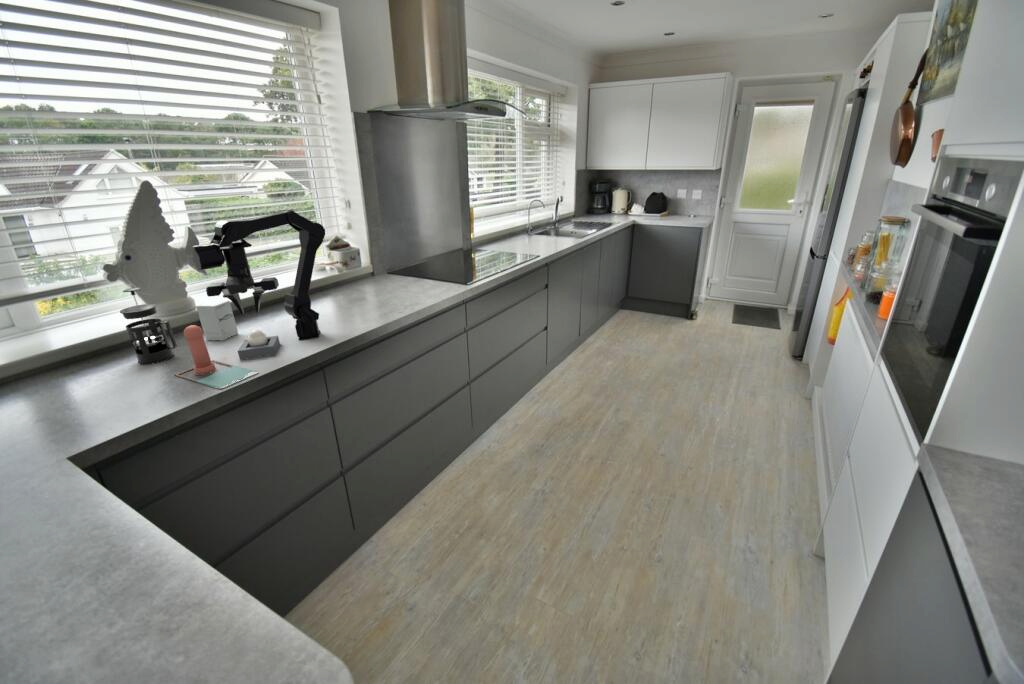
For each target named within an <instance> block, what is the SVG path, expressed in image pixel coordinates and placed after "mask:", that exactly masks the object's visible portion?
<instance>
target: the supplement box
mask: <svg viewBox="0 0 1024 684" xmlns="http://www.w3.org/2000/svg"><path fill="white" fill-rule="evenodd" d="M195 307H196V311H197V314H198V317H199V321H200V324H201V329H202V330H203V335H204V338H205V340H206V341H215V340H220V341H219V342H224V341H225V340H228V339H230V338H231V336H232V337H234V336H236V335H238V334H239V331H238V327H237V323H236V320H235V316H234V312H233V309H232V304H231V300H230V299H228V300H224V299H223V300H222V299H220V300H219V299H217V300H216V299H213V300H209V301H207V302H203V303H201V304H199V305H195Z"/></svg>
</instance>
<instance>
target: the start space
mask: <svg viewBox="0 0 1024 684" xmlns="http://www.w3.org/2000/svg"><path fill="white" fill-rule="evenodd" d="M211 362H216V363H215V364H218V363H219V364H218V365H222V364H223V365H222V366H225V365H227V366H226V367H228V368H230V367H229V366H231V367H232V366H234V365H233V364H229V363H225V362H221V361H218V360H215V359H212V360H211ZM192 369H193V370H194V368H193V367H191V368H188V369H186V370H183V371H180V372H178V373H175V374H174V376H175V375H176V376H175V377H178V376H179V377H178V378H181V377H182V378H181V379H184V378H185V379H184V380H187V379H189V380H188V381H190V380H192V381H191V382H194V381H196V382H195V383H197V381H198V380H199V379H194V378H191V377H188V376H185V375H182V374H181V373H183V374H185V373H188V372H190V371H193V370H192ZM189 370H190V371H189ZM187 371H188V372H187ZM184 372H185V373H184ZM218 372H219V371H218ZM218 372H216V373H218ZM179 374H180V375H179ZM213 374H214V373H211V375H213ZM208 376H209V375H208ZM208 376H206V377H208ZM203 378H204V377H203ZM203 378H201V379H203Z"/></svg>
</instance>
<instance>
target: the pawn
mask: <svg viewBox="0 0 1024 684" xmlns="http://www.w3.org/2000/svg"><path fill="white" fill-rule="evenodd" d="M183 336H184V338H185V339H186V341H187V345H188V347H189V350H190V354H191V357H192V360H193V363H194V366H193V367H192V368H194V369H193V371H194V375H196V374H198V375H197V376H202V375H201V374H205V375H208V374H207V373H209V374H211V373H210V372H212V371H214V370H215V369H216V366H215V365H216V364H215V363H214V362H211V361H212V360H211V357H210V354H209V351H208V347H207V344H206V341H205V339H204V338H205V337H204V331H203V328H202V327H200V326H198V325H195V324H193V325H191V324H190V325H189V326H187V327H186V328H184V329H183ZM216 370H217V369H216ZM216 370H215V371H216ZM215 371H214V372H215ZM212 373H213V372H212Z"/></svg>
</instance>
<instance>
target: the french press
mask: <svg viewBox="0 0 1024 684" xmlns="http://www.w3.org/2000/svg"><path fill="white" fill-rule="evenodd" d="M140 290H141V288H140V287H130V288H126V289H123V291H122V292H123V293H130V295H131V296H132V297H133V300H134V303H135V305H133V306H129V307H125V308H123V309H120V310H119V313H120V314H122V316H123V317H124V319H126V320H136V319H141V320H137V321H133V322H131V323H129V324H126V325H125V329H126V332H128V335H129V337H130V339H131V342H132V345H133V347H134V350H135V355H136V358H137V363H138V364H139V363H140V364H139V365H141V364H148V365H153V364H152V363H155V364H158V363H157V362H159V363H162V362H161V361H163V362H165V361H164V360H166V361H167V359H168V360H170V359H172V358H173V357H174V356H175V353H174V352H173V349H175V348H176V347H178V345H177V341H176V339H175V337H174V332H173V330H172V327H171V323H170V322H169V320H164V321H163V320H162V319H161V318H148V319H147V317H151V316H153V315H155V314H156V313H158V312H157V309H156V307H157V304H156V303H145V304H139V303H138V302H137V298H136V291H140ZM143 318H146V319H143ZM163 324H165V326H166V329H167V333H168V336H169V338H170V340H171V343H172V345H171V344H170V342H169V340H168V336H167V334H166V331H165V327H164V325H163ZM141 325H143V326H141ZM137 326H141V327H137ZM158 328H159V330H160V332H161V335H160V333H159V331H158ZM149 331H150V332H151V334H152V335H151V336H150V335H149ZM143 332H146V335H147V336H146V337H145V336H144V334H143ZM134 334H135V335H134ZM135 336H136V338H137V339H136V338H135ZM163 342H164V343H163ZM139 347H140V348H139ZM173 355H174V356H173ZM172 356H173V357H172ZM171 357H172V358H171ZM169 358H170V359H169Z"/></svg>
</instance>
